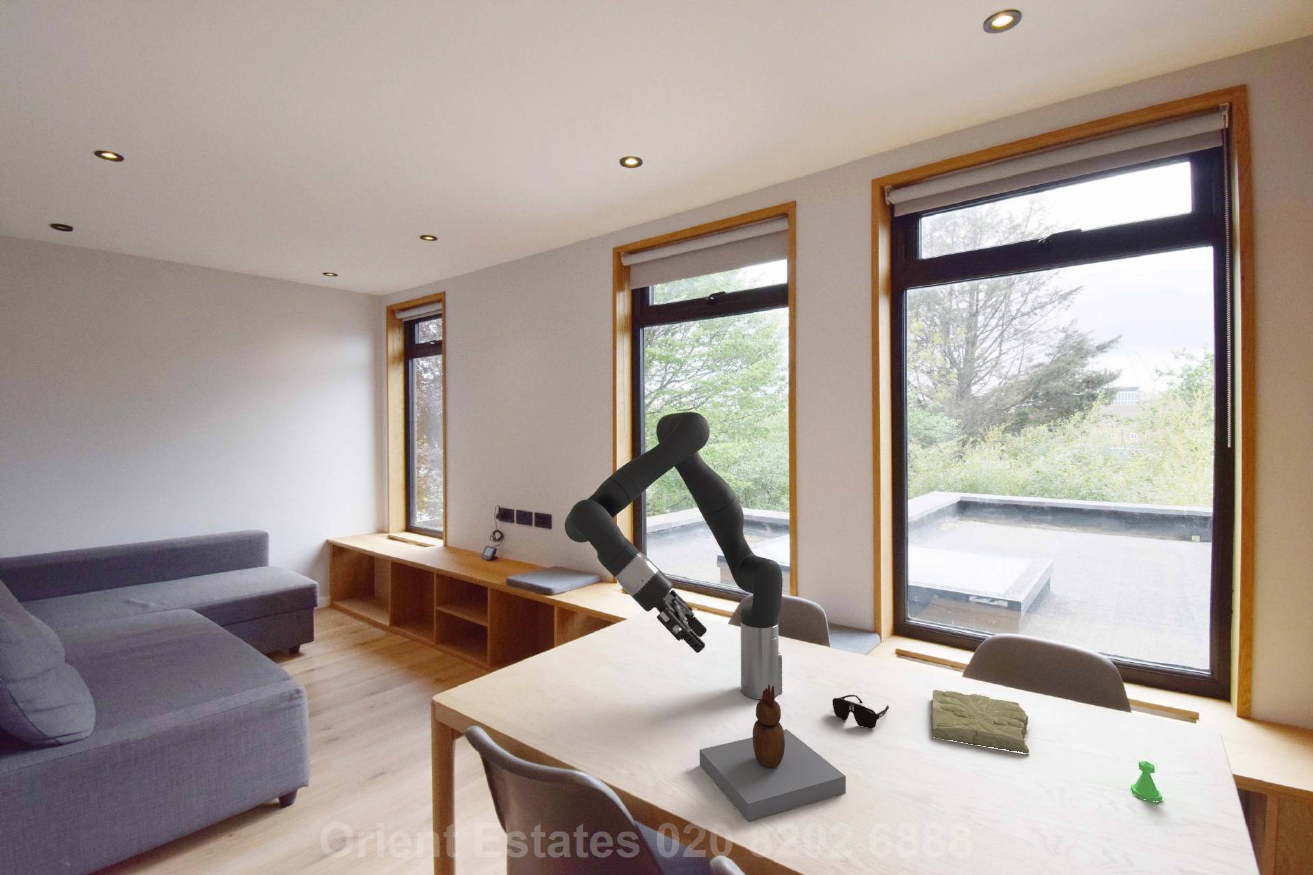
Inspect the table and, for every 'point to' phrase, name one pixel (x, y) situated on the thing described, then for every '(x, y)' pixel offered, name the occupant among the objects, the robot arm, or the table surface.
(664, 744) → the table surface
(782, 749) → the wooden figurine
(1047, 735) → the table surface
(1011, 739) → the decorative tile
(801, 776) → the block
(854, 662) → the table surface
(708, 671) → the table surface
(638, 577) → the robot arm
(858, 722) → the sunglasses
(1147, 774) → the game piece
